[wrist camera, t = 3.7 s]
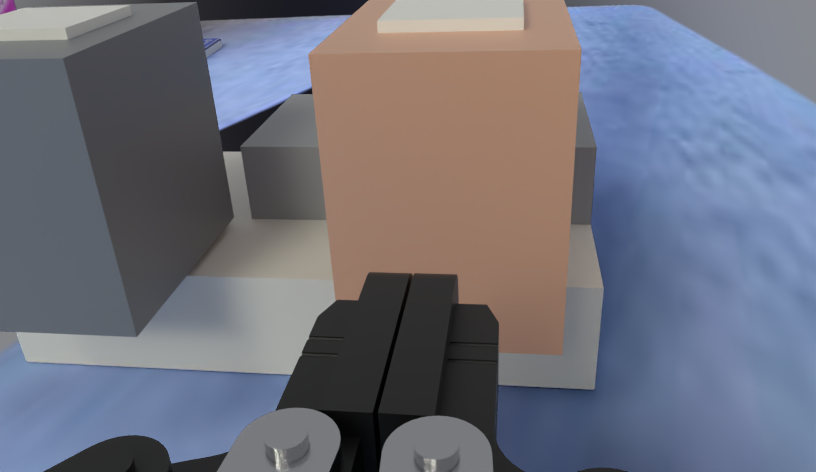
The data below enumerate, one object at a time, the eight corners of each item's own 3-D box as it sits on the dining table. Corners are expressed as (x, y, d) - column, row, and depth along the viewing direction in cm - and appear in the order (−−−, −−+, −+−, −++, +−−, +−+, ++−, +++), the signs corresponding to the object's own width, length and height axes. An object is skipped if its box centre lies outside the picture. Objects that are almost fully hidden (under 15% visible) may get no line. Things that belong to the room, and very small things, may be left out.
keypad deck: (26, 361, 27) (-35, 192, 24) (164, 223, 38) (135, 92, 34) (594, 389, 24) (611, 200, 21) (571, 230, 35) (580, 89, 31)
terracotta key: (340, 345, 20) (307, 40, 16) (387, 219, 27) (371, -13, 23) (562, 355, 19) (582, 35, 15) (549, 222, 26) (561, -19, 22)
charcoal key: (-51, 329, 21) (-165, 49, 18) (90, 214, 28) (30, -2, 25) (137, 337, 21) (59, 45, 17) (234, 217, 28) (195, -7, 24)
